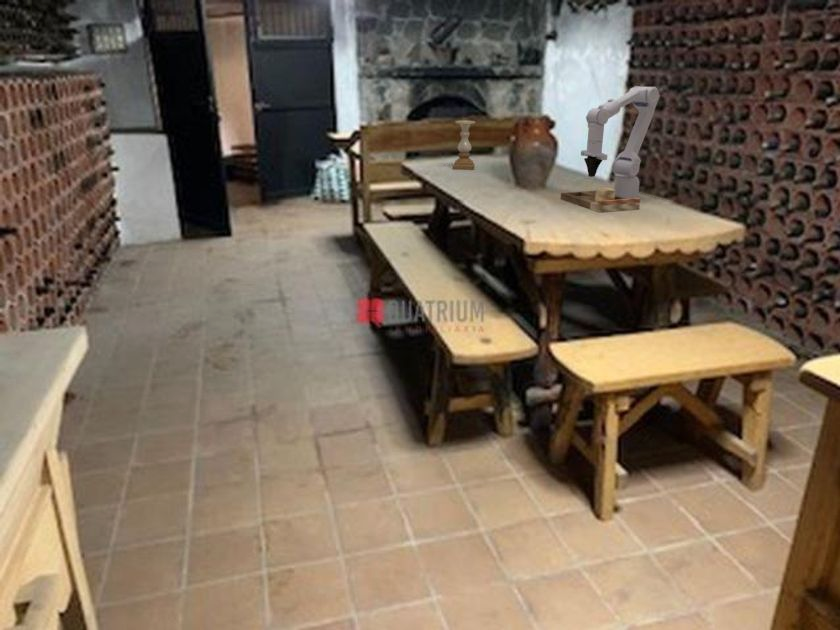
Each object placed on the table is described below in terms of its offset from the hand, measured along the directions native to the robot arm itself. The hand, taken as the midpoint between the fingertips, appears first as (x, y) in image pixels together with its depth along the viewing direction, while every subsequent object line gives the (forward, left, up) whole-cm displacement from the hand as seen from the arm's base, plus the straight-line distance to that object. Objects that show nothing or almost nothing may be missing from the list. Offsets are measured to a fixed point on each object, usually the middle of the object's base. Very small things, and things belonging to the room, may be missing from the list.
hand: (591, 176), depth 257 cm
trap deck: (-2, +3, -10) cm, 11 cm away
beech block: (+2, +13, -8) cm, 15 cm away
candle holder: (+10, -100, -11) cm, 101 cm away
